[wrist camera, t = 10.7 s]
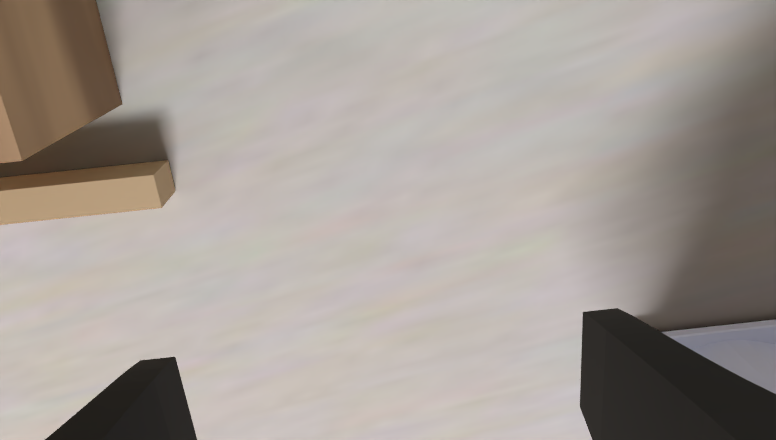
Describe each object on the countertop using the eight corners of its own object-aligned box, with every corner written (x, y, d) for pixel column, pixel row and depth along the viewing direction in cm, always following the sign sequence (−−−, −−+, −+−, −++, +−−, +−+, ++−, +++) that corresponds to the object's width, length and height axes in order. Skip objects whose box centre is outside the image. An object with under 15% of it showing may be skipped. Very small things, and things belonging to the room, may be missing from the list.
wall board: (561, -266, 15) (653, -370, 11) (556, 158, 19) (621, 216, 15) (-272, -189, 15) (-553, -263, 10) (-97, 227, 19) (-241, 308, 14)
